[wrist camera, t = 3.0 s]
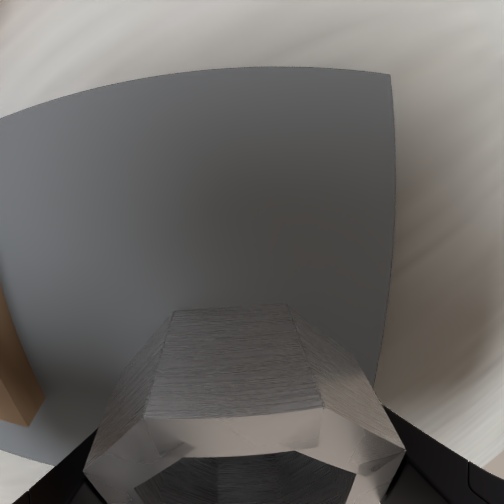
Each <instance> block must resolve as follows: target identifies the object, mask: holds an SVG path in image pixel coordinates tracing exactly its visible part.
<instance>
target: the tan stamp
mask: <svg viewBox="0 0 504 504" xmlns="http://www.w3.org/2000/svg"><path fill="white" fill-rule="evenodd" d="M45 398H46V397H45V395H44V393H43V391H42V389H41V387H40V385H39V383H38V381H37V379H36V377H35V375H34V373H33V370H32V368H31V366H30V364H29V361H28V359H27V357H26V355H25V352H24V350H23V347H22V345H21V342H20V340H19V337H18V335H17V332H16V329H15V327H14V324H13V321H12V318H11V315H10V313H9V310H8V307H7V303H6V300H5V297H4V294H3V291H2V287H1V284H0V420H2V421H6V422H9V423H13V424H17V425H21V426H25V427H29V426H30V424H31V422H32V420H33V419H34V417H35V415H36V413H37V412H38V410H39V408H40V407H41V405H42V403H43V402H44V400H45Z"/></svg>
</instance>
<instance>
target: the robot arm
mask: <svg viewBox="0 0 504 504" xmlns="http://www.w3.org/2000/svg"><path fill="white" fill-rule="evenodd" d="M381 405H382V404H381ZM382 406H383V408H384V410H385V412H386V414H387V416H388V417H389V419H390V421H391V423H392V425H393V426H394V428H395V430H396V432H397V434H398V436H399V438H400V439H401V441H402V443H403V445H404V447H405V449H406V452H405V454H404V457H403V459H402V461H401V463H400V465H399V467H398V469H397V471H396V473H395V475H394V477H393V479H392V481H391V483H390V485H389V487H388V488H387V490H386V492H385V494H384V496H383V498H382V499H381V501H380V503H381V504H504V480H503V479H501V478H499V477H497V476H495V475H493V474H491V473H489V472H487V471H485V470H484V469H482V468H480V467H478V466H477V465H475V464H473V463H472V462H470V461H469V462H468V460H467V459H465V458H463V457H462V456H460V455H459V454H457V453H455V452H454V451H452V450H451V449H449V448H447V447H446V446H444V445H443V444H441V443H439V442H438V441H436V440H435V439H433V438H432V437H430V436H429V435H427V434H426V433H424V432H422V431H421V430H419V429H418V428H416V427H415V426H413V425H412V424H410V423H409V422H407V421H406V420H404V419H403V418H401V417H400V416H398V415H397V414H395V413H394V412H392V411H391V410H389V409H388V408H386V407H385V406H384V405H382ZM98 428H99V427H98ZM98 428H97V429H96V430H95V431H94V432H93V433H92V434H91V435H89V436H88V437H87V438H86V439H85V440H84V441H83V442H82V443H81V444H80V445H78V446H77V447H76V448H75V449H74V450H73V451H72V452H71V453H70V454H68V455H67V456H66V457H65V458H64V459H63V460H62V461H61V462H60V463H58V464H57V465H56V466H55V467H54V468H53V469H52V470H51V471H49V472H48V473H47V474H46V475H45V476H44V477H43V478H42V479H40V480H39V481H38V482H37V483H36V484H35V485H34V486H32V487H31V488H30V489H29V491H27V492H25V493H24V494H23V495H22V496H21V497H20V498H18V499H17V500H16V501H15V502H13V503H12V504H108V503H107V502H106V501H105V499H104V498H103V497H102V496H101V495H100V493H99V492H98V491H97V490H96V488H95V487H94V486H93V485H92V483H91V482H90V481H89V479H88V478H87V477H86V475H85V474H84V473H83V469H84V466H85V464H86V461H87V458H88V455H89V452H90V450H91V447H92V444H93V442H94V439H95V436H96V434H97V431H98Z"/></svg>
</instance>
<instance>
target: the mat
mask: <svg viewBox="0 0 504 504" xmlns="http://www.w3.org/2000/svg"><path fill="white" fill-rule="evenodd" d="M395 184H396V166H395V130H394V112H393V99H392V87H391V77H390V75H389V74H382V73H374V72H365V71H356V70H345V69H332V68H314V67H244V68H226V69H212V70H201V71H192V72H183V73H175V74H168V75H161V76H155V77H148V78H143V79H137V80H132V81H126V82H121V83H117V84H112V85H107V86H103V87H99V88H95V89H91V90H87V91H83V92H79V93H75V94H72V95H68V96H65V97H61V98H58V99H54V100H51V101H48V102H45V103H42V104H39V105H36V106H33V107H30V108H27V109H24V110H22V111H19V112H16V113H14V114H11V115H8V116H6V117H3V118H1V119H0V284H1V287H2V291H3V294H4V297H5V300H6V303H7V307H8V310H9V313H10V315H11V318H12V321H13V324H14V327H15V329H16V332H17V335H18V337H19V340H20V342H21V345H22V347H23V350H24V352H25V355H26V357H27V359H28V361H29V364H30V366H31V368H32V370H33V373H34V375H35V377H36V379H37V381H38V383H39V385H40V387H41V389H42V391H43V393H44V395H45V397H46V398H45V400H44V402H43V403H42V405H41V407H40V408H39V410H38V412H37V413H36V415H35V417H34V419H33V420H32V422H31V424H30V426H29V427H25V426H21V425H17V424H13V423H9V422H6V421H2V420H0V450H3V451H6V452H9V453H12V454H15V455H18V456H21V457H24V458H27V459H31V460H34V461H38V462H42V463H45V464H49V465H53V466H56V465H57V464H58V463H60V462H61V461H62V460H63V459H64V458H65V457H66V456H67V455H68V454H70V453H71V452H72V451H73V450H74V449H75V448H76V447H77V446H78V445H80V444H81V443H82V442H83V441H84V440H85V439H86V438H87V437H88V436H89V435H91V434H92V433H93V432H94V431H95V430H96V429H97V428H98V427H99V426H100V423H101V421H102V418H103V415H104V413H105V410H106V408H107V405H108V403H109V400H110V398H111V395H112V393H113V391H114V388H115V386H116V383H117V381H118V379H119V376H120V374H121V372H122V371H123V369H124V368H125V367H126V366H127V365H128V364H129V362H130V361H131V360H132V359H133V358H134V357H135V355H136V354H137V353H138V352H139V351H140V350H141V348H142V347H143V346H144V345H145V344H146V343H147V341H148V340H149V339H150V338H151V337H152V336H153V334H154V333H155V332H156V331H157V330H158V329H159V327H160V326H161V325H162V324H163V323H164V322H165V320H166V319H167V318H168V317H169V316H170V315H171V314H172V312H173V311H174V312H175V311H177V310H195V309H211V308H225V307H239V306H252V305H264V304H275V303H286V304H287V303H288V304H289V305H290V306H292V307H293V308H294V309H295V310H297V311H298V312H299V313H300V314H302V315H303V316H304V317H305V318H307V319H308V320H309V321H311V322H312V323H313V324H314V325H316V326H317V327H318V328H319V329H321V330H322V331H323V332H324V333H326V334H327V335H328V336H330V337H331V338H332V339H333V340H335V341H336V342H337V343H338V344H340V345H341V346H342V347H344V348H345V349H346V350H347V351H349V352H350V353H351V354H353V355H354V357H355V359H356V360H357V362H358V364H359V366H360V367H361V369H362V371H363V373H364V374H365V376H366V378H367V380H368V381H369V383H370V385H371V387H372V388H373V385H374V381H375V376H376V371H377V366H378V360H379V355H380V349H381V343H382V337H383V331H384V324H385V317H386V310H387V302H388V294H389V285H390V276H391V265H392V253H393V239H394V221H395Z"/></svg>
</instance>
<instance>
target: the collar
mask: <svg viewBox="0 0 504 504" xmlns="http://www.w3.org/2000/svg"><path fill="white" fill-rule="evenodd" d="M405 452H406V449H405V447H404V445H403V443H402V441H401V439H400V438H399V436H398V434H397V432H396V430H395V428H394V426H393V425H392V423H391V421H390V419H389V417H388V416H387V414H386V412H385V410H384V408H383V406H382V405H381V403H380V401H379V399H378V397H377V396H376V394H375V392H374V390H373V388H372V387H371V385H370V383H369V381H368V380H367V378H366V376H365V374H364V373H363V371H362V369H361V367H360V366H359V364H358V362H357V360H356V359H355V357H354V355H353V354H351V353H350V352H349V351H347V350H346V349H345V348H344V347H342V346H341V345H340V344H338V343H337V342H336V341H335V340H333V339H332V338H331V337H330V336H328V335H327V334H326V333H324V332H323V331H322V330H321V329H319V328H318V327H317V326H316V325H314V324H313V323H312V322H311V321H309V320H308V319H307V318H305V317H304V316H303V315H302V314H300V313H299V312H298V311H297V310H295V309H294V308H293V307H292V306H290V305H289V304H288V303H287V304H286V303H275V304H264V305H252V306H239V307H225V308H211V309H195V310H177V311H175V312H174V311H173V312H172V314H171V315H170V316H169V317H168V318H167V319H166V320H165V322H164V323H163V324H162V325H161V326H160V327H159V329H158V330H157V331H156V332H155V333H154V334H153V336H152V337H151V338H150V339H149V340H148V341H147V343H146V344H145V345H144V346H143V347H142V348H141V350H140V351H139V352H138V353H137V354H136V355H135V357H134V358H133V359H132V360H131V361H130V362H129V364H128V365H127V366H126V367H125V368H124V369H123V371H122V372H121V374H120V376H119V379H118V381H117V383H116V386H115V388H114V391H113V393H112V395H111V398H110V400H109V403H108V405H107V408H106V410H105V413H104V415H103V418H102V421H101V423H100V426H99V428H98V431H97V434H96V436H95V439H94V442H93V444H92V447H91V450H90V452H89V455H88V458H87V461H86V464H85V466H84V469H83V473H84V474H85V475H86V477H87V478H88V479H89V481H90V482H91V483H92V485H93V486H94V487H95V488H96V490H97V491H98V492H99V493H100V495H101V496H102V497H103V498H104V499H105V501H106V502H107V503H108V504H379V503H380V501H381V499H382V498H383V496H384V494H385V492H386V490H387V488H388V487H389V485H390V483H391V481H392V479H393V477H394V475H395V473H396V471H397V469H398V467H399V465H400V463H401V461H402V459H403V457H404V454H405Z"/></svg>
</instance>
